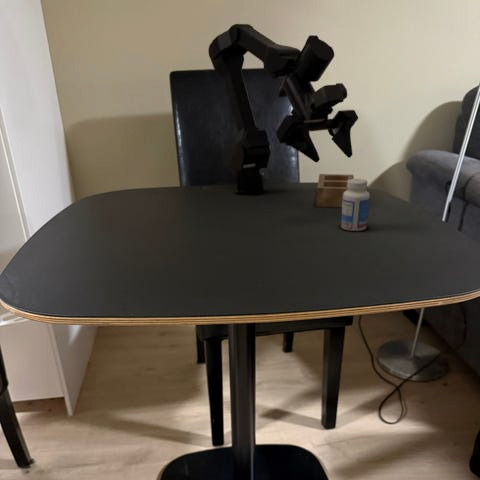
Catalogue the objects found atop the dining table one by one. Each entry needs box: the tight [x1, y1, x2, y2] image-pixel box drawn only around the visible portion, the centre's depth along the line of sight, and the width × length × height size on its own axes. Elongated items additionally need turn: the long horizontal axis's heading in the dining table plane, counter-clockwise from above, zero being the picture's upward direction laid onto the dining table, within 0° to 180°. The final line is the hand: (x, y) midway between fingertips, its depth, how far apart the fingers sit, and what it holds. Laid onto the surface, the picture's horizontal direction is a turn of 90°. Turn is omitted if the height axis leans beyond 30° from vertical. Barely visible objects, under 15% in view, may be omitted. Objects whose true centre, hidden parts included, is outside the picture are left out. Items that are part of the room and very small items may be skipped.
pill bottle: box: [340, 178, 371, 232], centre depth 99 cm, size 6×5×10 cm
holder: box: [315, 173, 355, 208], centre depth 122 cm, size 9×16×4 cm, turn 170°
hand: (334, 158), depth 101 cm, fingers open, 9 cm apart
